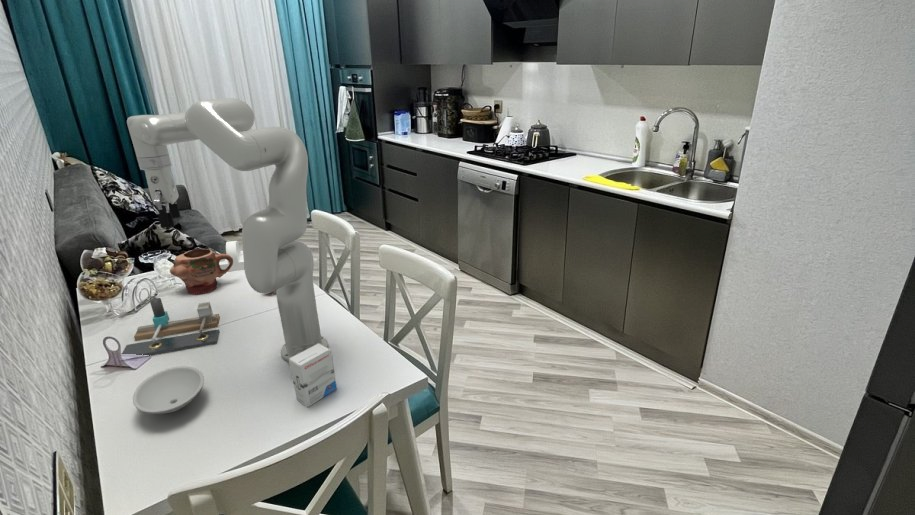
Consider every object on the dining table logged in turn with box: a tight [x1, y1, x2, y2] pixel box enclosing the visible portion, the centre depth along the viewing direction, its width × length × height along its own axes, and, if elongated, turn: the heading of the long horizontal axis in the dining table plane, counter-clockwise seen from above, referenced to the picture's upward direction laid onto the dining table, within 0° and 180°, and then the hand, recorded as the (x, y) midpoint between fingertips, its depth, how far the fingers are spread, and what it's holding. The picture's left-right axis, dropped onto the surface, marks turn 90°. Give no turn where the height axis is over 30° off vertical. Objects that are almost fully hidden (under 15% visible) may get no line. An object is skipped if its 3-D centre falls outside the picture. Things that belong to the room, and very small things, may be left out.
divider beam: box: [133, 301, 221, 342], centre depth 138 cm, size 13×22×6 cm, turn 109°
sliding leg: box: [149, 297, 170, 344], centre depth 136 cm, size 12×3×9 cm, turn 19°
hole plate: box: [121, 328, 221, 357], centre depth 134 cm, size 7×24×1 cm, turn 109°
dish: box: [132, 365, 205, 415], centre depth 109 cm, size 18×14×5 cm
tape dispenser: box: [219, 240, 245, 273], centre depth 186 cm, size 10×18×11 cm, turn 108°
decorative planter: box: [169, 248, 233, 295], centre depth 167 cm, size 20×12×14 cm, turn 120°
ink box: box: [288, 343, 338, 408], centre depth 110 cm, size 9×5×12 cm, turn 141°
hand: (171, 222), depth 134 cm, fingers open, 9 cm apart
